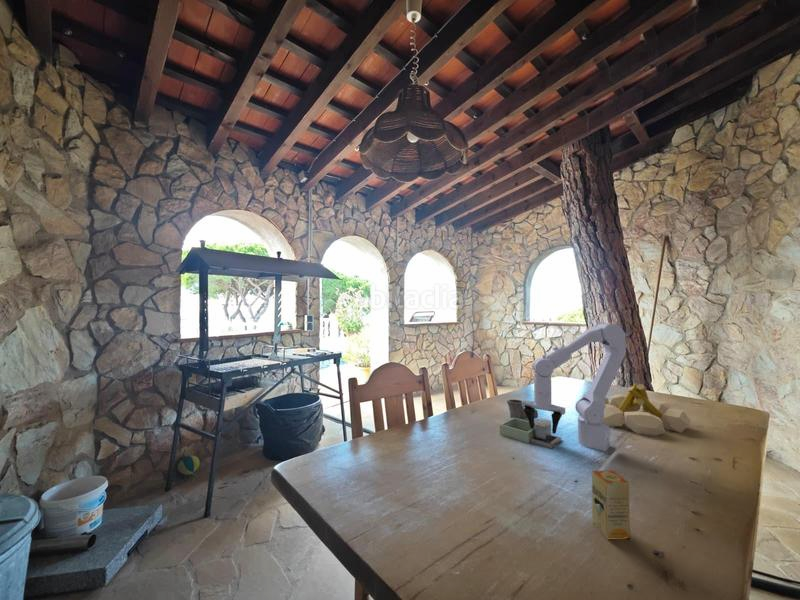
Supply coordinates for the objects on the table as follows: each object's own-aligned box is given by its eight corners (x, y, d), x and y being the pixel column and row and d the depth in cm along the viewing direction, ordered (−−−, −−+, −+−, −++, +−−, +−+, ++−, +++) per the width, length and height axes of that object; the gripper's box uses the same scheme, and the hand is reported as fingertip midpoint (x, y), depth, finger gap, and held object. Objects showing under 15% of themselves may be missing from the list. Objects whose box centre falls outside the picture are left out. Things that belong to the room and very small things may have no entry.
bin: (541, 436, 124) (541, 424, 125) (528, 445, 117) (528, 432, 117) (513, 429, 132) (513, 417, 133) (499, 436, 125) (499, 424, 125)
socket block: (563, 443, 118) (563, 437, 118) (552, 452, 111) (552, 445, 111) (535, 435, 126) (535, 430, 126) (523, 443, 119) (523, 437, 119)
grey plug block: (551, 440, 119) (551, 420, 119) (545, 444, 115) (545, 424, 116) (541, 437, 121) (541, 418, 122) (535, 441, 118) (535, 421, 118)
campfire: (640, 441, 120) (640, 395, 121) (570, 413, 153) (569, 376, 153) (709, 431, 130) (708, 388, 130) (628, 406, 162) (627, 371, 163)
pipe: (539, 421, 141) (539, 402, 141) (509, 421, 141) (509, 402, 141) (533, 416, 147) (533, 398, 147) (505, 416, 147) (505, 398, 148)
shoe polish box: (613, 523, 75) (613, 470, 75) (629, 539, 70) (628, 482, 70) (592, 524, 75) (591, 471, 75) (607, 539, 70) (606, 482, 70)
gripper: (567, 393, 117) (567, 431, 117) (526, 386, 127) (526, 422, 126) (562, 397, 112) (562, 437, 112) (519, 390, 121) (519, 427, 121)
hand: (543, 430), depth 119 cm, fingers open, 7 cm apart
